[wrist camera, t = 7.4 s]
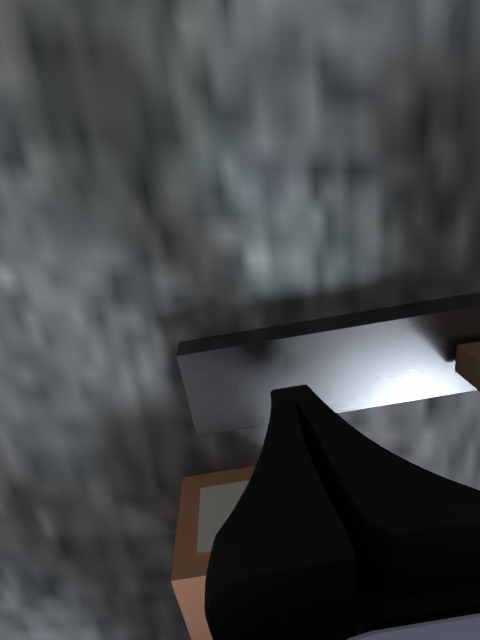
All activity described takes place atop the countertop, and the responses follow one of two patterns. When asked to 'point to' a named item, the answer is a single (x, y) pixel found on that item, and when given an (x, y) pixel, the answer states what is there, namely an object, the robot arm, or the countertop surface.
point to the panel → (469, 363)
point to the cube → (201, 538)
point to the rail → (330, 362)
